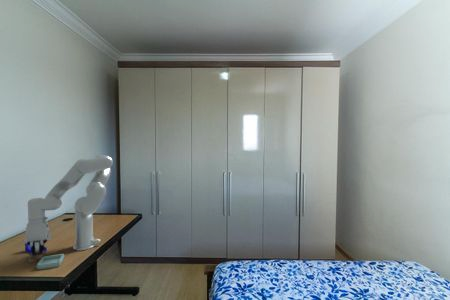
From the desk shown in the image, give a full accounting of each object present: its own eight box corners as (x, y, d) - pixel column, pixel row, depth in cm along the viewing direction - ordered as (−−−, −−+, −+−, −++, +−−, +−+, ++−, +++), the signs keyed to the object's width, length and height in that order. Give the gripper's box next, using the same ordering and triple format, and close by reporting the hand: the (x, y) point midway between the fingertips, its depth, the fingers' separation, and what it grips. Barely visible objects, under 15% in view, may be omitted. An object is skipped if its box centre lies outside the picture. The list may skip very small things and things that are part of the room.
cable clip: (46, 252, 143) (46, 242, 143) (38, 255, 139) (38, 245, 139) (33, 248, 147) (33, 239, 147) (25, 251, 143) (25, 242, 143)
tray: (64, 257, 136) (64, 253, 136) (59, 266, 127) (59, 262, 127) (43, 260, 132) (43, 256, 132) (36, 270, 123) (36, 265, 123)
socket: (45, 255, 138) (45, 250, 138) (41, 260, 133) (41, 255, 133) (32, 257, 136) (32, 252, 136) (28, 262, 131) (28, 256, 131)
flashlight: (43, 256, 137) (42, 237, 137) (40, 259, 134) (40, 240, 133) (35, 257, 136) (34, 238, 135) (32, 260, 132) (32, 241, 132)
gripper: (56, 216, 140) (56, 247, 141) (21, 219, 134) (22, 251, 135) (52, 220, 133) (52, 252, 134) (15, 224, 127) (16, 257, 128)
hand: (37, 251), depth 135 cm, fingers closed on flashlight, 3 cm apart
